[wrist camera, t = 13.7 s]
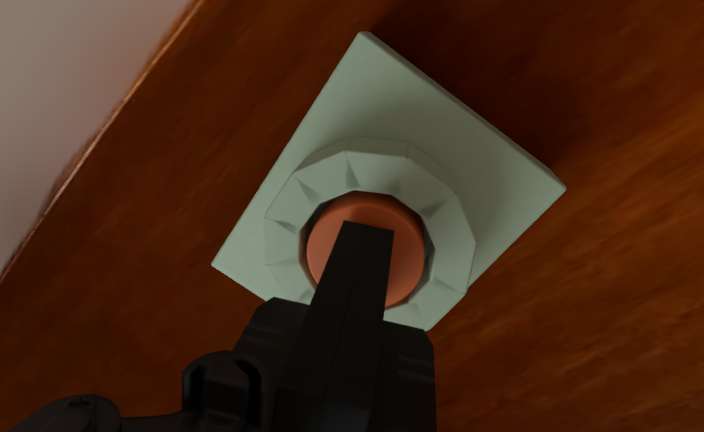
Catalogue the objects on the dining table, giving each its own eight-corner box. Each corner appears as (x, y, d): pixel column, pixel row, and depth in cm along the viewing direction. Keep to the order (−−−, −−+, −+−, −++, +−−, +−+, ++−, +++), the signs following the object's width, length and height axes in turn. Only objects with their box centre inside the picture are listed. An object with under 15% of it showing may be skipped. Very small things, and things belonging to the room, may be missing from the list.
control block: (367, 30, 15) (350, 30, 11) (550, 168, 16) (588, 210, 12) (232, 240, 19) (186, 291, 15) (383, 341, 20) (375, 412, 16)
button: (357, 163, 14) (348, 180, 12) (446, 227, 14) (450, 251, 13) (298, 242, 15) (284, 267, 14) (381, 298, 16) (377, 329, 14)
